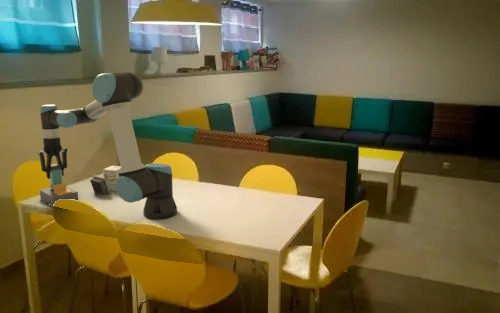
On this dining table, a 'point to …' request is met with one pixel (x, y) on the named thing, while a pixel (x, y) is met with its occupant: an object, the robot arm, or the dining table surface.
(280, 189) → the dining table surface
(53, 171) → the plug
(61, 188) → the panel
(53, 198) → the socket
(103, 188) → the electrical switch
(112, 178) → the ink box
